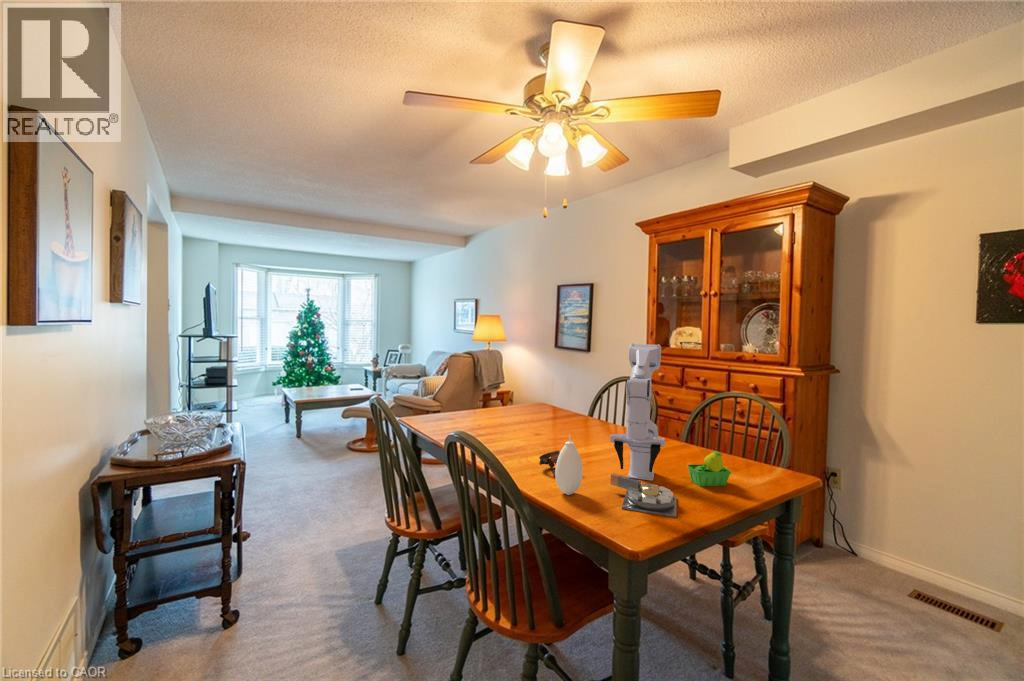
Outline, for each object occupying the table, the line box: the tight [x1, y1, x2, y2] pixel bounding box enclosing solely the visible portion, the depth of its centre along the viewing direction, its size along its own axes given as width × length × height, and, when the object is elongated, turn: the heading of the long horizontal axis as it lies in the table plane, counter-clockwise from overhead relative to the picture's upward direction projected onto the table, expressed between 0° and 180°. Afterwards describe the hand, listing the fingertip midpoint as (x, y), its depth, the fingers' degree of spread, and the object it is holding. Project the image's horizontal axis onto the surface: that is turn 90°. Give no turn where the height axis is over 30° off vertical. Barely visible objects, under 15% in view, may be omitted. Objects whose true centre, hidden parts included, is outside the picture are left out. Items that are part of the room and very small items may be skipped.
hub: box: [621, 483, 677, 518], centre depth 128 cm, size 14×14×5 cm
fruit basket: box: [686, 450, 732, 487], centre depth 145 cm, size 11×9×11 cm
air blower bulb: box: [555, 434, 583, 496], centre depth 134 cm, size 8×8×18 cm
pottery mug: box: [538, 450, 561, 478], centre depth 154 cm, size 12×10×8 cm
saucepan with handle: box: [610, 472, 674, 504], centre depth 129 cm, size 12×18×3 cm
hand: (636, 469), depth 127 cm, fingers open, 7 cm apart
